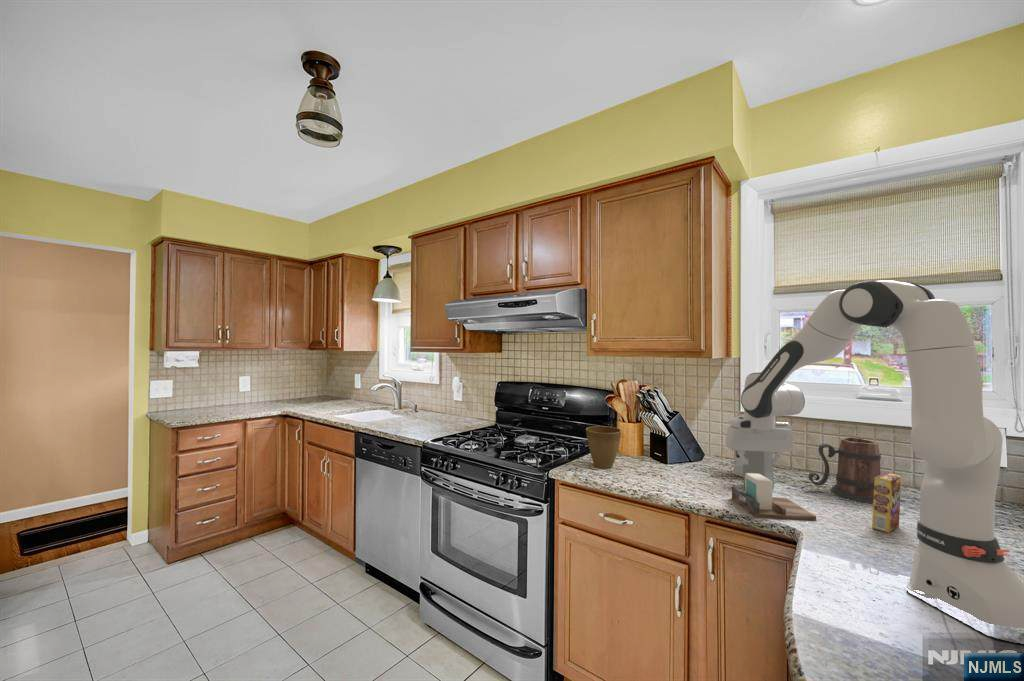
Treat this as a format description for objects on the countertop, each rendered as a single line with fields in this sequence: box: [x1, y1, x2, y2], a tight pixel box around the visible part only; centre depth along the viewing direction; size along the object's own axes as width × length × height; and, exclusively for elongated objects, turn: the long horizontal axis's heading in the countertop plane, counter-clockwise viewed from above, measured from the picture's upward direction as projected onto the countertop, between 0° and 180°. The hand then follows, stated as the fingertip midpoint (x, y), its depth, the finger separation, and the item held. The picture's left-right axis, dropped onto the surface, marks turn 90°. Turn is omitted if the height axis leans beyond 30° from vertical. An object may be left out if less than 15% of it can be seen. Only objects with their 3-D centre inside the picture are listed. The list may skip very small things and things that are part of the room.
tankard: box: [808, 436, 882, 505], centre depth 155 cm, size 24×17×20 cm
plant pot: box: [585, 425, 622, 470], centre depth 184 cm, size 15×15×16 cm
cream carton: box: [744, 473, 773, 510], centre depth 139 cm, size 5×8×9 cm, turn 177°
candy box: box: [871, 472, 902, 534], centre depth 126 cm, size 9×4×15 cm, turn 123°
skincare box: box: [742, 451, 775, 491], centre depth 160 cm, size 8×7×16 cm
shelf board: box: [731, 485, 817, 521], centre depth 139 cm, size 16×18×4 cm
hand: (759, 464), depth 139 cm, fingers open, 8 cm apart
